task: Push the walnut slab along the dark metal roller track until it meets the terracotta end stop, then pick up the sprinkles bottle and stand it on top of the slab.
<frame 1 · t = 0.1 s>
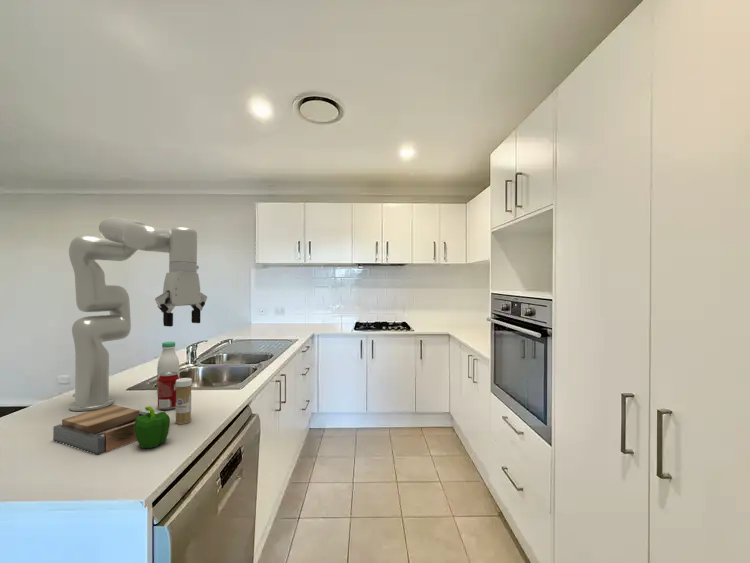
hand: (182, 324, 114), 31 cm above the worktop, tool pointing down, fingers open, 9 cm apart
milk bottle: (168, 393, 148), on the worktop
slab: (101, 418, 109), point 4 cm above the worktop, slide at 0.0 cm
sprinkles bottle: (183, 422, 118), on the worktop
soda can: (168, 408, 131), on the worktop
roller track: (110, 435, 107), on the worktop
bell pepper: (152, 445, 102), on the worktop
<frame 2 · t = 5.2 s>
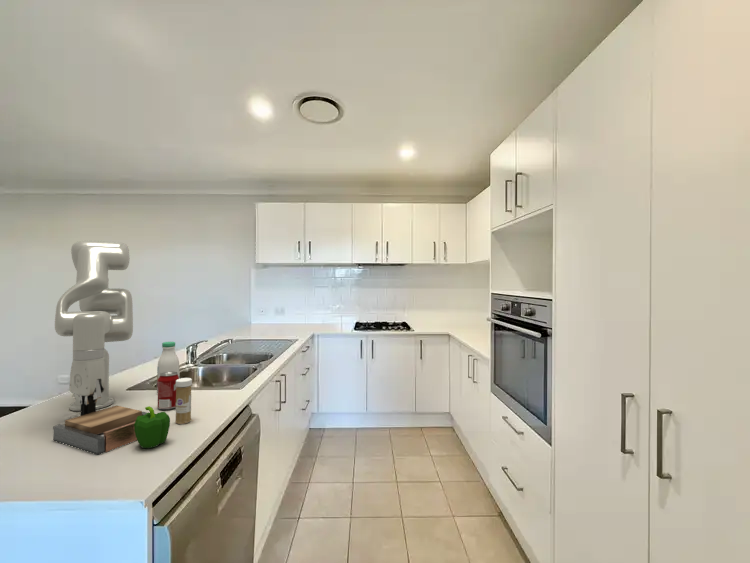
hand: (88, 416, 111), 4 cm above the worktop, tool pointing down, fingers closed
slab: (104, 419, 108), point 4 cm above the worktop, slide at 1.4 cm, touching gripper
everything else where it was.
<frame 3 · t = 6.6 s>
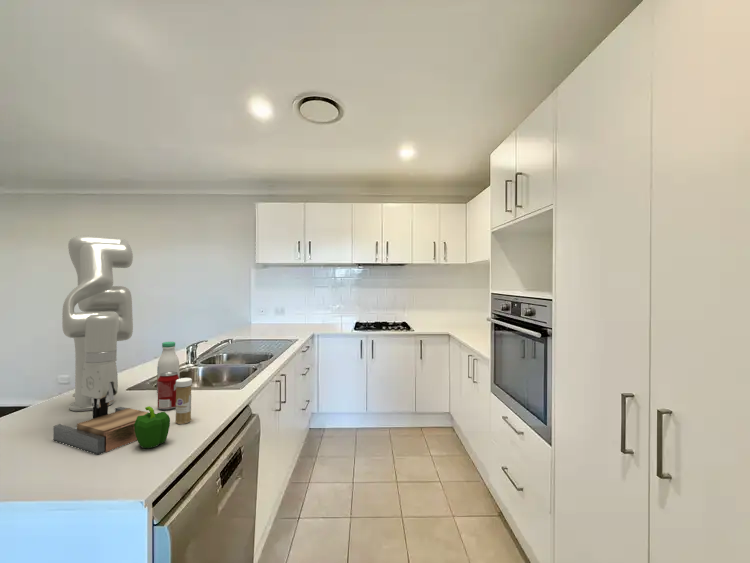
hand: (100, 419, 109), 4 cm above the worktop, tool pointing down, fingers closed
slab: (117, 422, 106), point 4 cm above the worktop, slide at 7.1 cm, touching gripper
everything else where it was.
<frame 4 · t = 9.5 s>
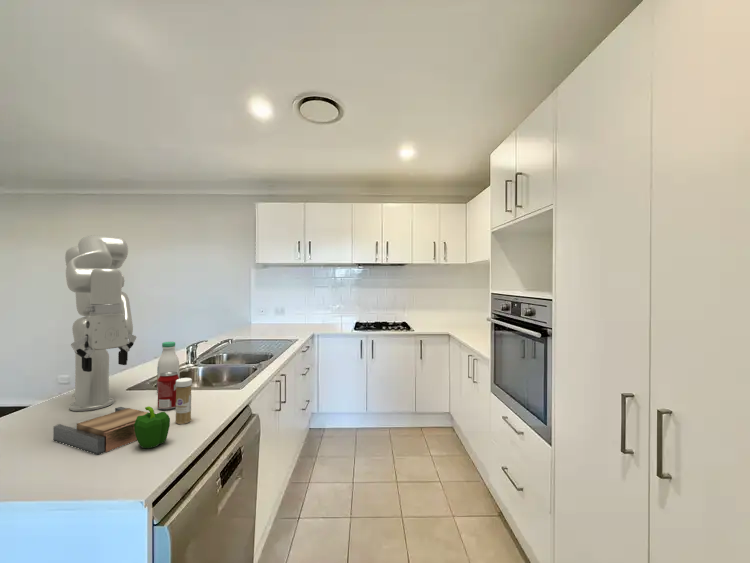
hand: (105, 367, 111), 18 cm above the worktop, tool pointing down, fingers open, 9 cm apart
slab: (117, 422, 106), point 4 cm above the worktop, slide at 7.0 cm
everything else where it was.
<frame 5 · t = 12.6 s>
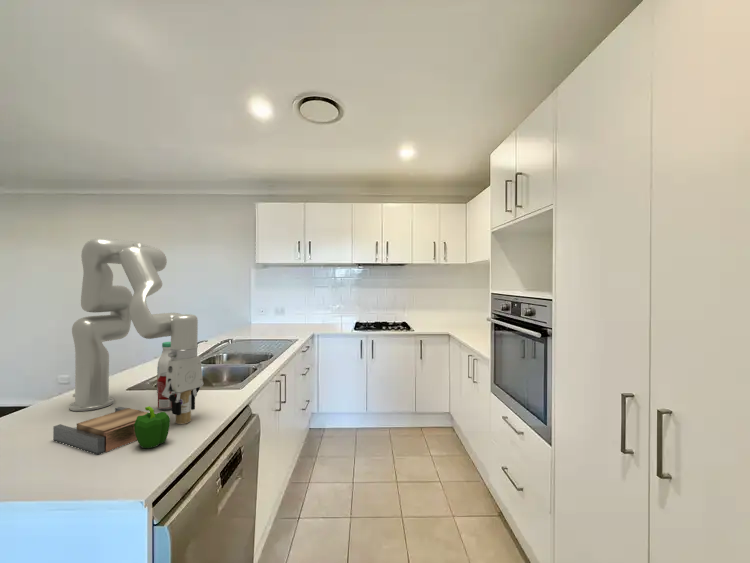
hand: (183, 411, 118), 3 cm above the worktop, tool pointing down, fingers closed on sprinkles bottle, 4 cm apart
sprinkles bottle: (183, 422, 118), on the worktop, touching gripper
everything else where it was.
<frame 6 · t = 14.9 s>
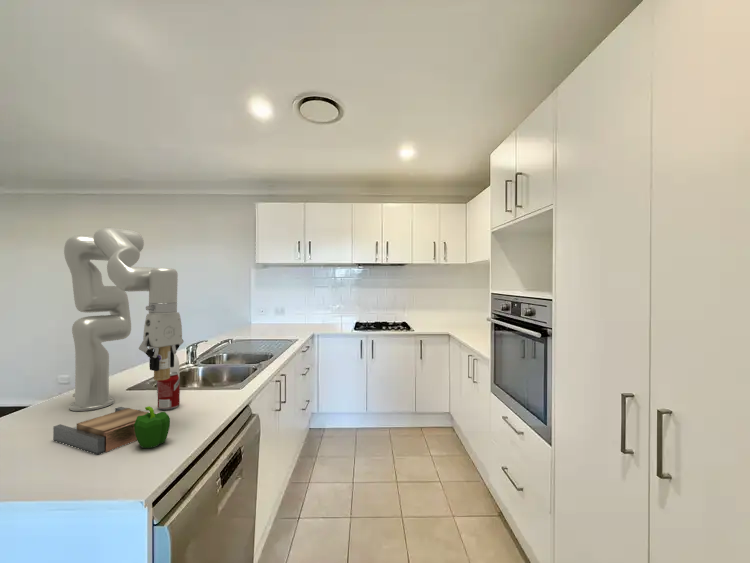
hand: (162, 367, 114), 18 cm above the worktop, tool pointing down, fingers closed on sprinkles bottle, 4 cm apart
sprinkles bottle: (162, 379, 114), point 14 cm above the worktop, touching gripper
everything else where it was.
when the fingers open (10 cm above the worktop, at t = 17.5 s): sprinkles bottle drops 1 cm, resting on slab.
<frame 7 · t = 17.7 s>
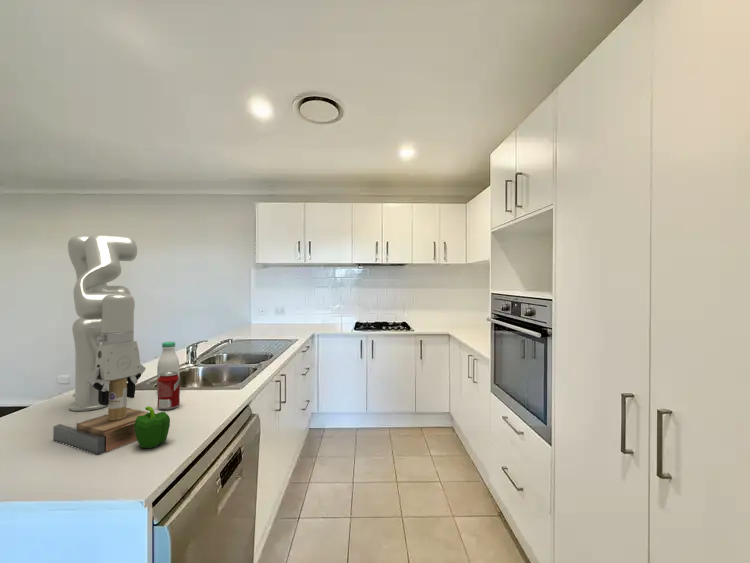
hand: (117, 400, 106), 10 cm above the worktop, tool pointing down, fingers open, 6 cm apart
slab: (117, 422, 106), point 4 cm above the worktop, slide at 7.0 cm, touching sprinkles bottle
sprinkles bottle: (117, 418, 106), point 5 cm above the worktop, touching slab
everything else where it was.
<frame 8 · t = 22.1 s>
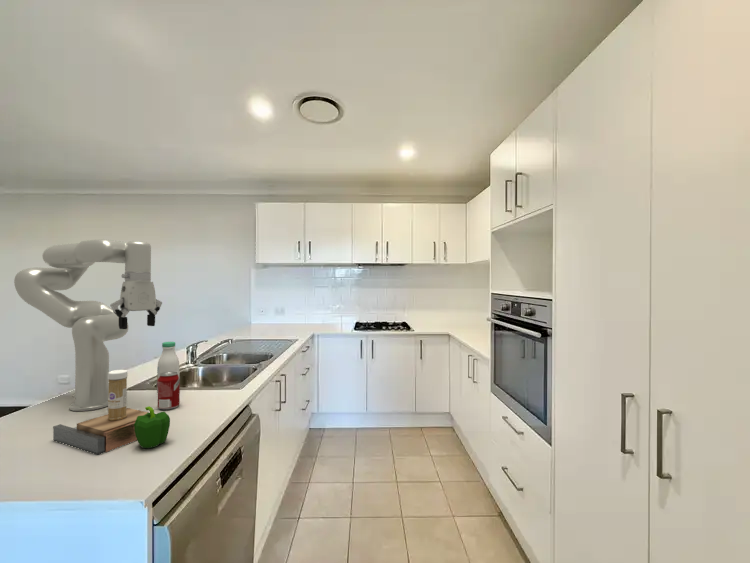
hand: (137, 327, 129), 28 cm above the worktop, tool pointing down, fingers open, 9 cm apart
nothing on the worktop moved.
at the end: slab slide at 7.0 cm; sprinkles bottle inside the target area (0.2 cm from its centre), point 5.0 cm above the worktop; sprinkles bottle tilted 0° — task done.
